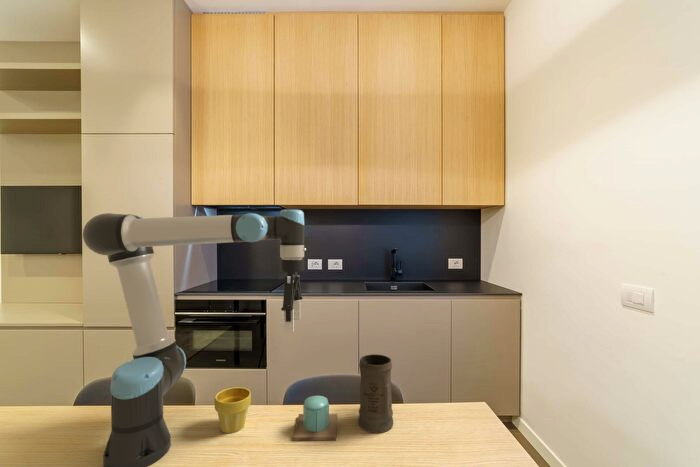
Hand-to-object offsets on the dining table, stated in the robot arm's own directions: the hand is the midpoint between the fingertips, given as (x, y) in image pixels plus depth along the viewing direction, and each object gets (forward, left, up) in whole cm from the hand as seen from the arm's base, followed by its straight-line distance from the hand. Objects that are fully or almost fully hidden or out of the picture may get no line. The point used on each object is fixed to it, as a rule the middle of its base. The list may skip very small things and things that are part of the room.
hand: (292, 325), depth 108 cm
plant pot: (-17, -6, -29) cm, 34 cm away
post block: (+8, -7, -29) cm, 31 cm away
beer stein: (+26, -2, -29) cm, 39 cm away
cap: (+8, -7, -28) cm, 30 cm away
